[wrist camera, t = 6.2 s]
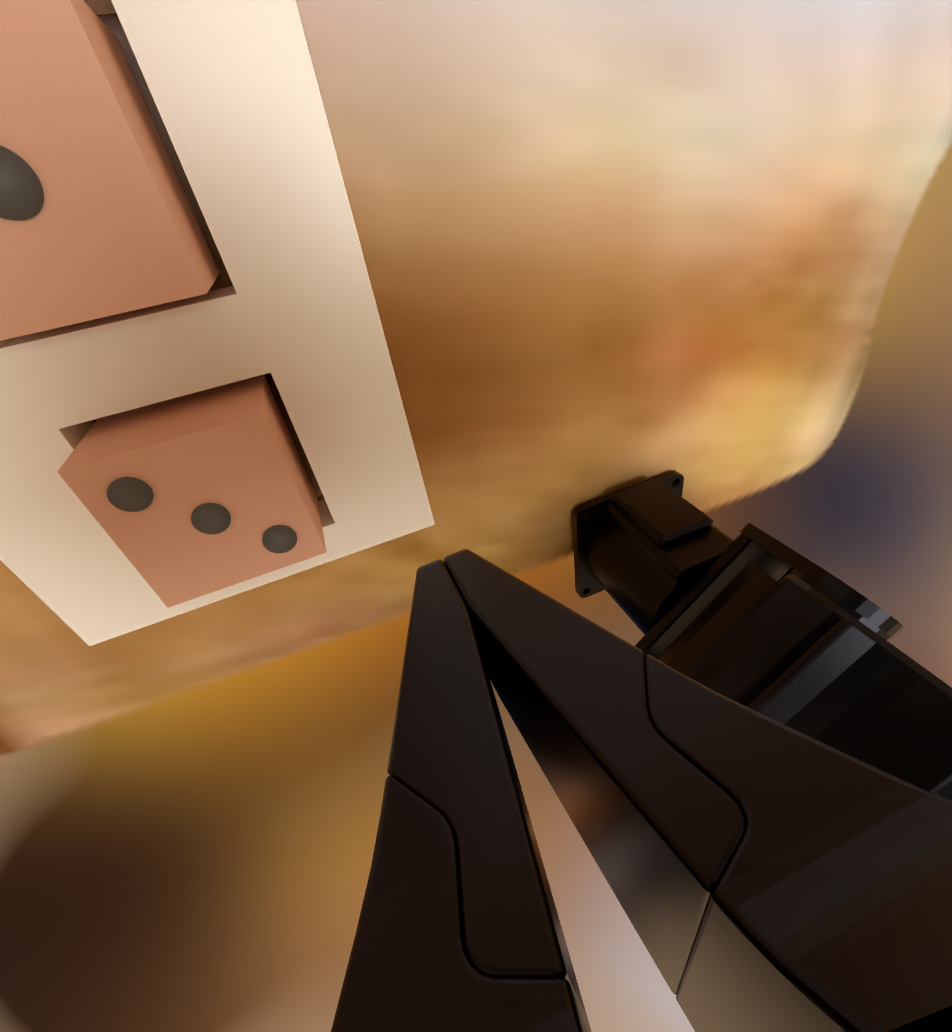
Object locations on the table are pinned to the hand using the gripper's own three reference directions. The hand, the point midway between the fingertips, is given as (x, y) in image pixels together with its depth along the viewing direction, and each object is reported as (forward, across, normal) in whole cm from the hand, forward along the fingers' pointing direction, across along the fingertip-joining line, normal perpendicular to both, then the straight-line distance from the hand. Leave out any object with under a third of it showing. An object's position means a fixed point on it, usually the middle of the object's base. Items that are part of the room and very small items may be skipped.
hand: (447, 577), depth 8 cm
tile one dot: (+12, +5, -7) cm, 14 cm away
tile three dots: (+12, +5, +1) cm, 13 cm away
